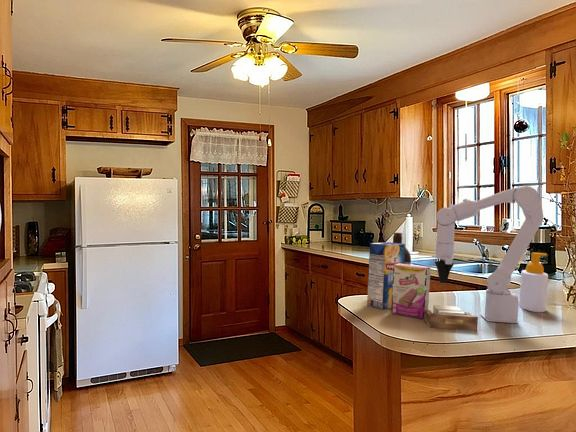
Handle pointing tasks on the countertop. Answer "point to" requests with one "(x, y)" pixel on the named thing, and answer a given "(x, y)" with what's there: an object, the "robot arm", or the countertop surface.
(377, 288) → the beverage box
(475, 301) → the countertop surface
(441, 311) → the carton
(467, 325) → the display stand
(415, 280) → the candy bar box
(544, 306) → the soap bottle
